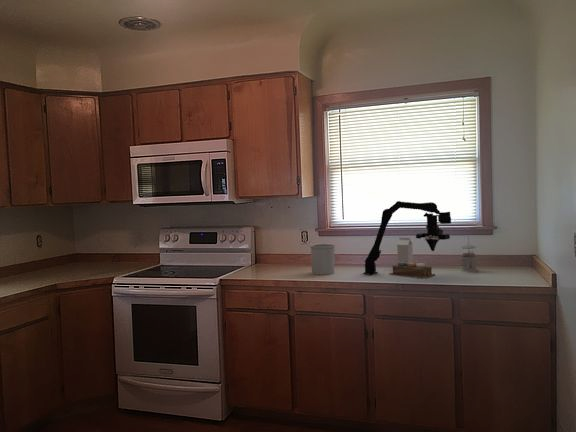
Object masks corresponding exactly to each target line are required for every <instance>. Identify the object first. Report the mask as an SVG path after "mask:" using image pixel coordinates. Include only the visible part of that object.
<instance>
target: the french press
mask: <svg viewBox="0 0 576 432" xmlns="http://www.w3.org/2000/svg"><path fill="white" fill-rule="evenodd" d="M470 230H471V228H470V227H468V228H466V231H467V234H468V235H467V236H468V237H467V239H468V241H467V242H468V244H464V245H462V246H461V249H465V250H468V252H464V253H462V256H461V265H462V267H461V268H460V271H462V272H467V273H468V272H470V273H471V272H474V273H475V272H478V271H479V270H478V268H477V256H475V255H476V253H474V251H473V250H471V249H476V245H473V244H470V242H469V241H470V240H469V239H470V237H469V233H470V232H469V231H470ZM470 250H471V251H470Z"/></svg>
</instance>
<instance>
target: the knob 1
mask: <svg viewBox="0 0 576 432" xmlns="http://www.w3.org/2000/svg"><path fill="white" fill-rule="evenodd" d="M397 265H398V266H407V262H398V261H397Z"/></svg>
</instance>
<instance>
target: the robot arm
mask: <svg viewBox="0 0 576 432" xmlns="http://www.w3.org/2000/svg"><path fill="white" fill-rule="evenodd" d="M399 209H408V210H420V211H424V212H425V213H424V214H423V215H422V216H423V217H425V218H426V226H425V228H426V232H418V233H416V235H415V239H421V238H424V241H425V242H427V245H428V246H429V248H430V250H431V252H435V249H436V246H437V244H438V243H439V241H440V240H450V239H451V238H450V237H451V236H450V234H449V233H444V230H443V229H441V228H440V226H439V225H438V223H440V225H451V224H452V217H451V212H450V211H445V212H444V211H442V212H441V211H440V210H439V209H438V205H437V204H436V202H411V201H410V202H409V201H401V200H398V201H397V200H396V202H395V203H394V204H393V205H392V206H390V207H389V208H385V209H384V210H383V211H382V213H381V220H380V226H379V229H378V232H377V234H376V236H375V240H374V243H373V245H372V247H371V249H370V251H369V253H368V255H367V257H366V258H365V260H364V272H362V274H365V275H376V274H379V272H378V271H377V264H376V261H377V260H378V259H379V258H380V255H381V253H382V250H381V249H380V247H381V243H382V241H383V238H384V236H385V233H386V228H387V226H388V224H389V222H390V221H391V219H392V217H393V214H394V213H395V212H397V211H398V210H399Z"/></svg>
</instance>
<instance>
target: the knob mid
mask: <svg viewBox="0 0 576 432" xmlns="http://www.w3.org/2000/svg"><path fill="white" fill-rule="evenodd" d="M416 264H417V262H414V261H413V262H410V263H407V267H416Z"/></svg>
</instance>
